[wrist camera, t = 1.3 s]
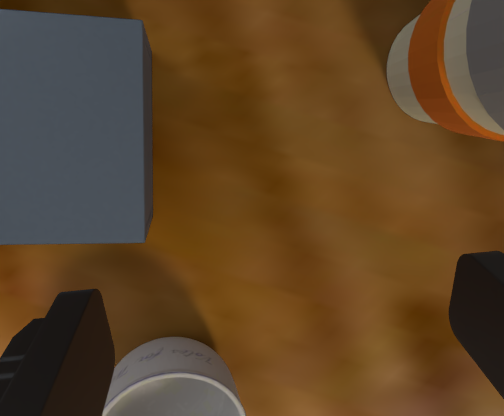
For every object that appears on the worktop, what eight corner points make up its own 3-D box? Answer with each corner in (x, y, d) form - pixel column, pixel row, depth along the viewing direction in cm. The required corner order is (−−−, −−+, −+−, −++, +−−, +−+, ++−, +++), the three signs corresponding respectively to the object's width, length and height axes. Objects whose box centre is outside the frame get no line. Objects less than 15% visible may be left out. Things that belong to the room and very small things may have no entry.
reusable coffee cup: (462, 166, 37) (644, 185, 23) (341, 107, 35) (461, 87, 20) (525, 31, 36) (758, -39, 22) (405, -40, 34) (581, -175, 19)
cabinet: (-51, 216, 31) (-136, 246, 22) (-67, 36, 29) (-167, -5, 20) (153, 216, 33) (144, 243, 25) (151, 50, 31) (142, 19, 23)
